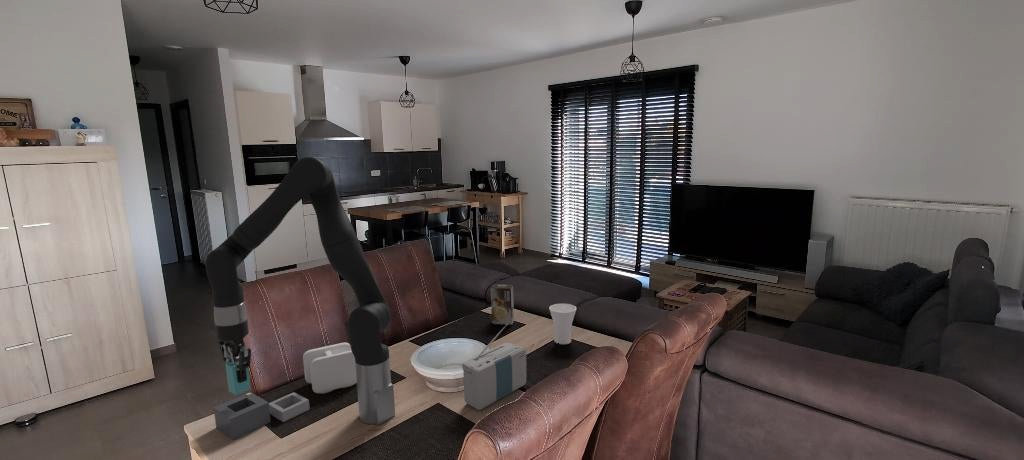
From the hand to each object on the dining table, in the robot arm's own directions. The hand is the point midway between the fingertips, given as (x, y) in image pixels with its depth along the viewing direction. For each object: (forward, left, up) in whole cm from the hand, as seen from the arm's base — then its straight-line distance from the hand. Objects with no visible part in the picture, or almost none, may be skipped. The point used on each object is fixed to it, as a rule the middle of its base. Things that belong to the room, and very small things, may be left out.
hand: (238, 378), depth 131 cm
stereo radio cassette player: (-49, -52, -14) cm, 72 cm away
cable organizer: (0, -28, -14) cm, 31 cm away
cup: (-45, -99, -14) cm, 110 cm away
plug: (0, 0, -3) cm, 3 cm away
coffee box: (-13, -103, -14) cm, 105 cm away
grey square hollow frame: (-4, -11, -14) cm, 18 cm away
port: (0, 0, -14) cm, 14 cm away
